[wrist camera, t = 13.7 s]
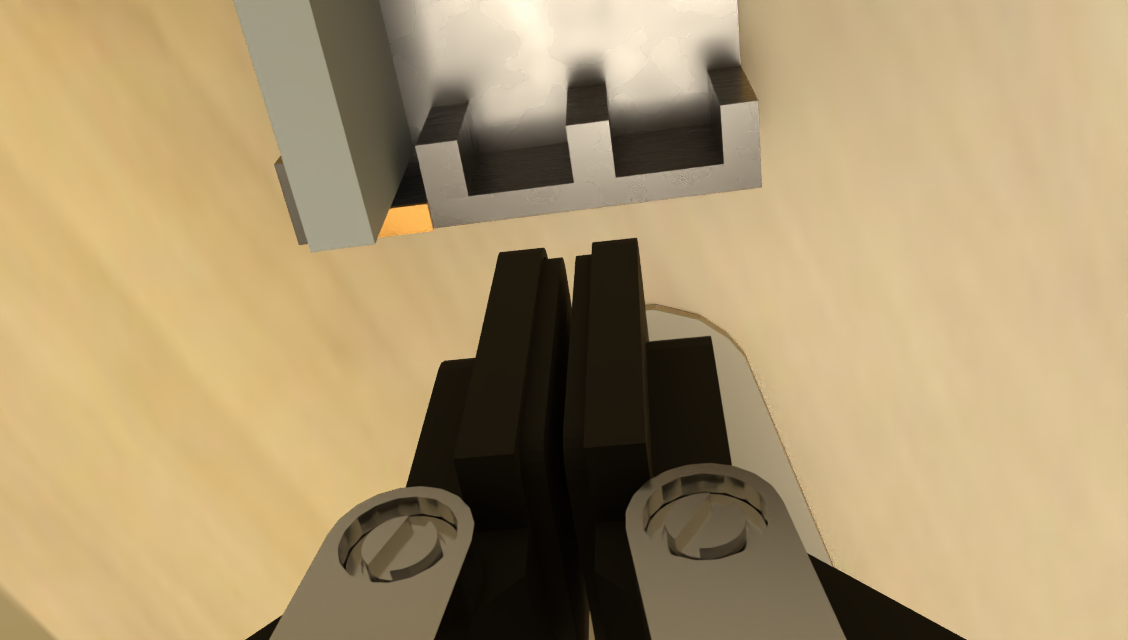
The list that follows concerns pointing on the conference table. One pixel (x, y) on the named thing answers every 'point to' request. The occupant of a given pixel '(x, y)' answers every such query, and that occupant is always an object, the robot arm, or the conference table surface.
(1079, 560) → the conference table surface
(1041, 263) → the conference table surface
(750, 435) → the wireless router
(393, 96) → the panel
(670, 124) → the rack
